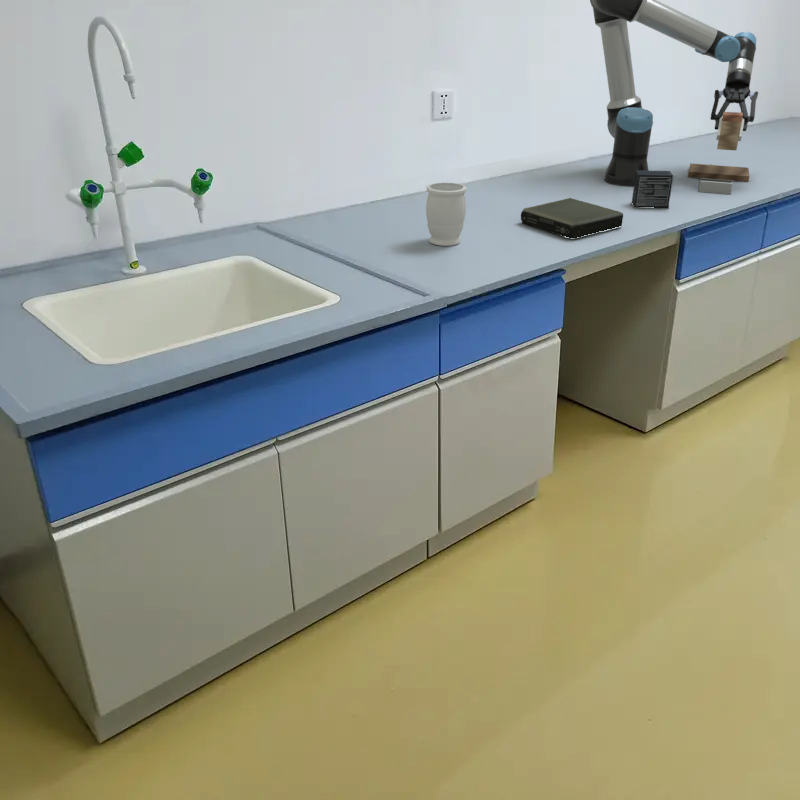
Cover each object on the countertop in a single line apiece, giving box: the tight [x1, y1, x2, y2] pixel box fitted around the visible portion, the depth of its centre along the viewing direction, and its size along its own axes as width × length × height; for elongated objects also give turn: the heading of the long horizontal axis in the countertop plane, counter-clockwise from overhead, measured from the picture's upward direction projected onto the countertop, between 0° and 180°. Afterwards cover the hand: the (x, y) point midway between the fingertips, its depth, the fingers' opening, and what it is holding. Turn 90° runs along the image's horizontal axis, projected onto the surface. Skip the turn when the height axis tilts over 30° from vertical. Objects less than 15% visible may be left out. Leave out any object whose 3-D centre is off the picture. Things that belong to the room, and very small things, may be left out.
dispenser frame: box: [698, 178, 733, 195], centre depth 271 cm, size 10×9×4 cm
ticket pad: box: [716, 111, 743, 151], centre depth 266 cm, size 6×5×11 cm
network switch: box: [520, 197, 624, 238], centre depth 234 cm, size 23×23×5 cm
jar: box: [425, 182, 468, 247], centre depth 217 cm, size 11×10×15 cm
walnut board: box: [687, 163, 750, 183], centre depth 289 cm, size 20×14×2 cm
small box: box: [631, 170, 674, 209], centre depth 251 cm, size 11×6×10 cm, turn 84°
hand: (728, 138), depth 264 cm, fingers closed on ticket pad, 6 cm apart
